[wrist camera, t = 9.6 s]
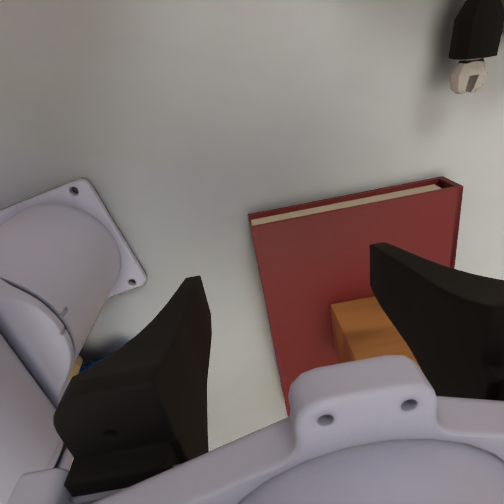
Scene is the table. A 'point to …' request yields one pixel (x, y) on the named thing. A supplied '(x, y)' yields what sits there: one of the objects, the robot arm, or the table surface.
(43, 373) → the robot arm
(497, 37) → the robot toy
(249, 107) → the table surface
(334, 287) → the book
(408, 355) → the wood block
